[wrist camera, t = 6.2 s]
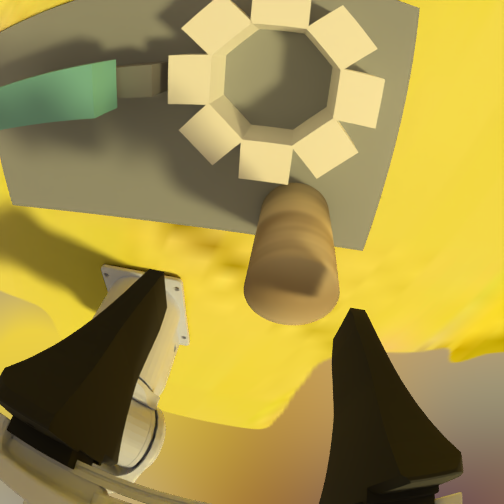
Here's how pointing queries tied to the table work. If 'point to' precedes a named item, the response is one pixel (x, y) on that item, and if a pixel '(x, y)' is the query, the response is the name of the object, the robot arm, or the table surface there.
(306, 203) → the peg
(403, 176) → the table surface
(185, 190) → the board
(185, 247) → the table surface
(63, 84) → the bar
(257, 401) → the table surface
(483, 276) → the table surface
